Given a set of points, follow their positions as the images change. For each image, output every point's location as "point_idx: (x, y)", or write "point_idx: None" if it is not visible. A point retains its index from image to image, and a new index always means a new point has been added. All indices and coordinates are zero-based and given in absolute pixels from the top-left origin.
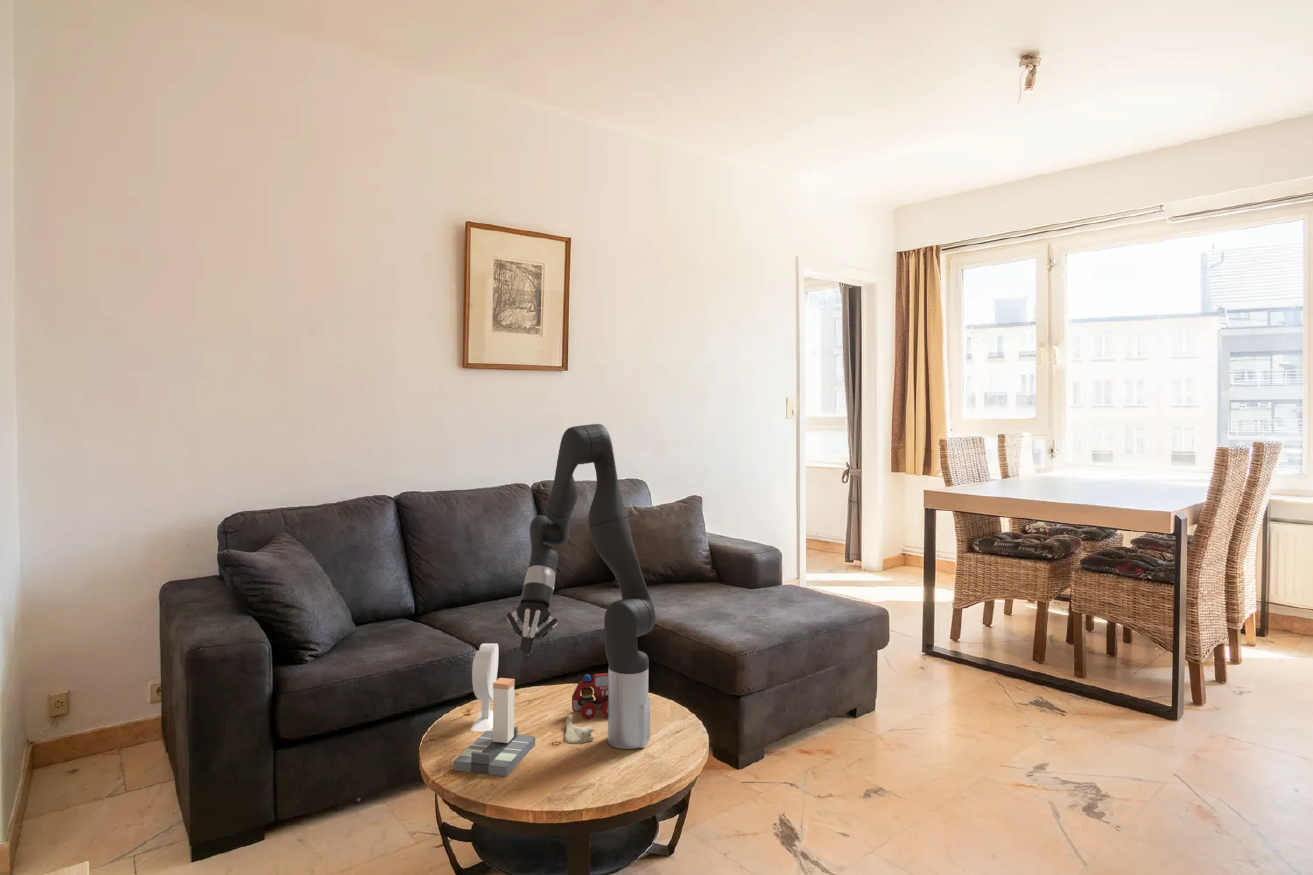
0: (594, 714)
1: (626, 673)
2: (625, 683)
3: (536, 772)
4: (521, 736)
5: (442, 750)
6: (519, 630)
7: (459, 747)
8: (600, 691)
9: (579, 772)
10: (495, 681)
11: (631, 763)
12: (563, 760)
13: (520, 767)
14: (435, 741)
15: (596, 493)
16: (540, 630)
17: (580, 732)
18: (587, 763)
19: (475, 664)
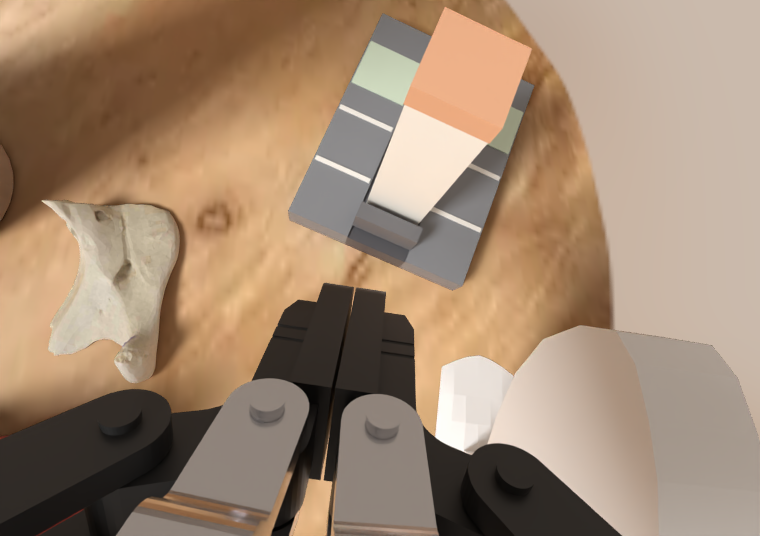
0: (4, 436)
1: None
2: None
3: (293, 37)
4: (338, 215)
5: (572, 229)
6: (494, 488)
7: (527, 241)
8: None
9: (163, 7)
10: (520, 69)
11: None
12: (203, 91)
13: (339, 76)
14: (605, 297)
15: None
16: (80, 479)
17: (108, 238)
18: (127, 55)
19: (696, 346)
